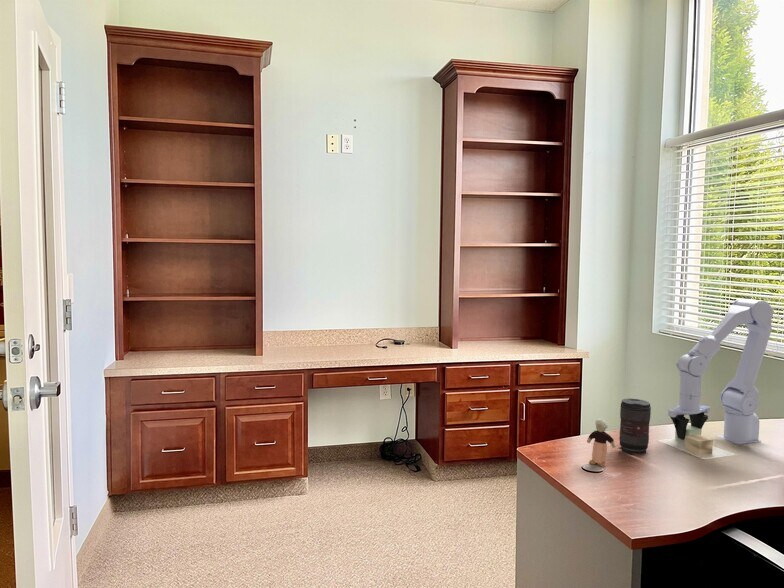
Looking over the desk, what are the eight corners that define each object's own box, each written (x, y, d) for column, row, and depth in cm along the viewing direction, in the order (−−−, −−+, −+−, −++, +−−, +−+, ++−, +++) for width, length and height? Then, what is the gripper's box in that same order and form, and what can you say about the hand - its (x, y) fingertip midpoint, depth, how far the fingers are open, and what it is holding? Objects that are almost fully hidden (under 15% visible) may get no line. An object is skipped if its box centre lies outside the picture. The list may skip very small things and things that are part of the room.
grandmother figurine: (584, 463, 157) (585, 418, 156) (586, 459, 161) (588, 415, 160) (614, 469, 154) (615, 422, 153) (615, 464, 157) (617, 419, 156)
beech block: (697, 447, 169) (698, 434, 169) (712, 453, 165) (713, 439, 164) (684, 449, 168) (685, 436, 168) (699, 455, 163) (699, 441, 163)
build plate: (687, 438, 180) (687, 436, 180) (735, 456, 164) (735, 454, 164) (657, 442, 176) (657, 440, 176) (703, 461, 160) (703, 459, 160)
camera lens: (652, 457, 163) (654, 405, 162) (622, 455, 164) (624, 404, 163) (644, 447, 171) (646, 398, 170) (616, 446, 172) (617, 397, 171)
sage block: (687, 436, 179) (688, 424, 179) (700, 442, 174) (701, 429, 174) (675, 438, 177) (675, 425, 177) (688, 443, 173) (688, 430, 172)
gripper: (697, 389, 181) (695, 431, 182) (661, 392, 176) (659, 436, 177) (716, 394, 174) (714, 438, 175) (679, 398, 170) (677, 443, 171)
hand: (688, 437), depth 176 cm, fingers closed on sage block, 5 cm apart
